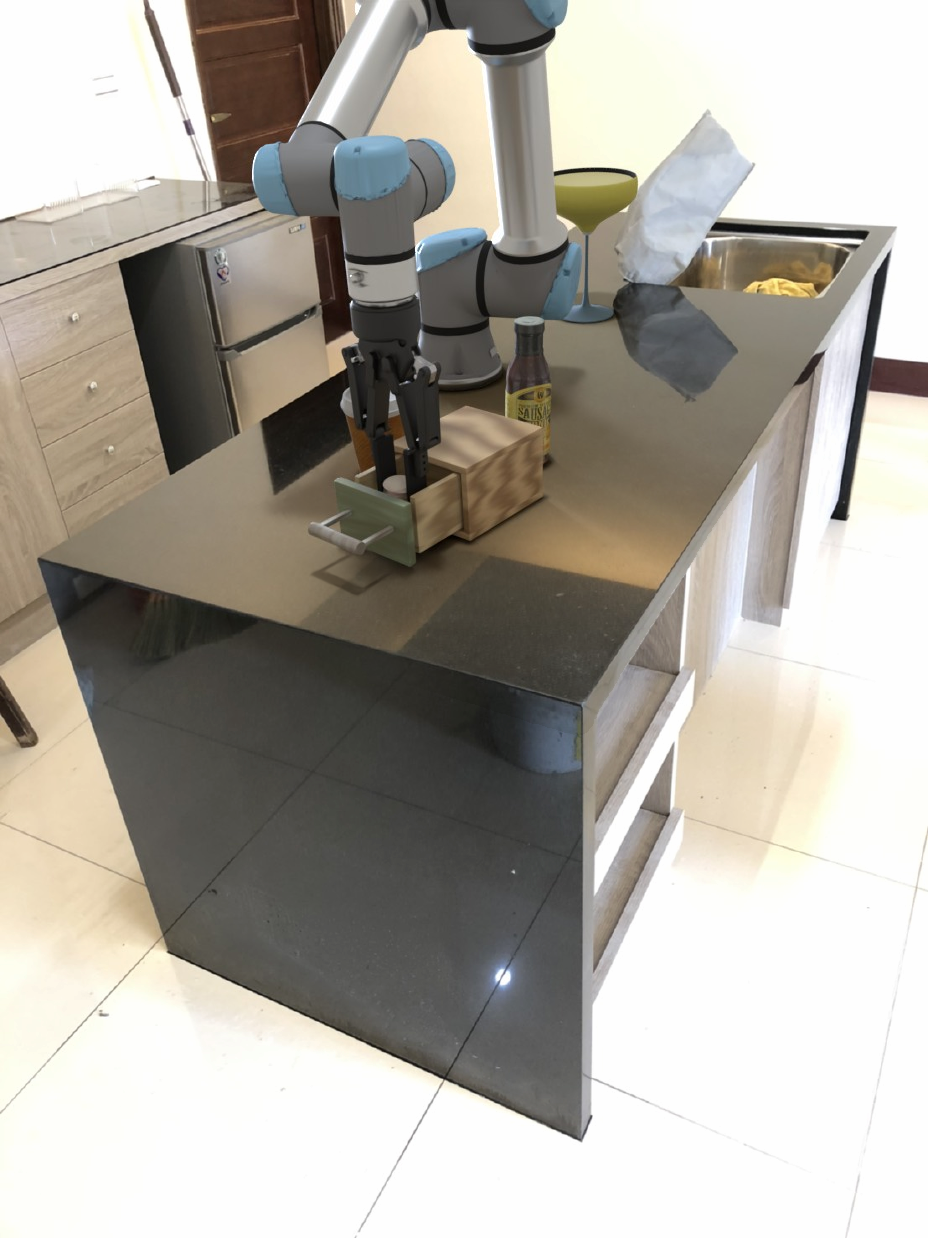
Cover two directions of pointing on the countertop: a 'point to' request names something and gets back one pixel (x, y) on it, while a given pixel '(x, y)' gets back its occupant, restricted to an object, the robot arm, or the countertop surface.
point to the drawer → (394, 515)
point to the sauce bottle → (529, 379)
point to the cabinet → (489, 465)
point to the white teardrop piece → (395, 486)
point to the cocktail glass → (592, 215)
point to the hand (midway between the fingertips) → (402, 492)
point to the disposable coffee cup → (360, 437)
